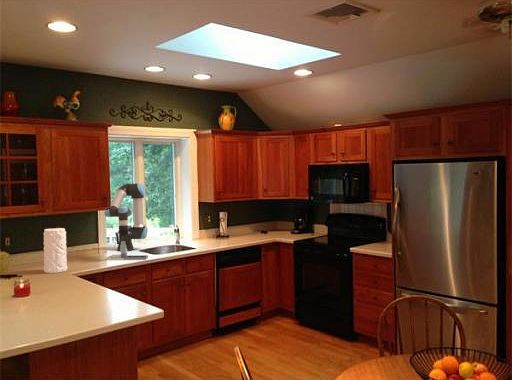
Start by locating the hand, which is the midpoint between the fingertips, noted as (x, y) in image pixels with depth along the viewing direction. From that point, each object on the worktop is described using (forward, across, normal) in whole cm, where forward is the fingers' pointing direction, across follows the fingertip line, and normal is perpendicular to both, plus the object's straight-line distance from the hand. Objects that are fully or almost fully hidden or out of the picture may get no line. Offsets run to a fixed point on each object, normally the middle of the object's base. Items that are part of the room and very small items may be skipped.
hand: (123, 252), depth 381 cm
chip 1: (+6, -8, 0) cm, 10 cm away
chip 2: (+6, -4, 0) cm, 7 cm away
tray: (+7, -6, 0) cm, 9 cm away
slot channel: (+7, +10, 0) cm, 12 cm away
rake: (+5, 0, 0) cm, 5 cm away
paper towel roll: (+7, -40, -40) cm, 58 cm away
